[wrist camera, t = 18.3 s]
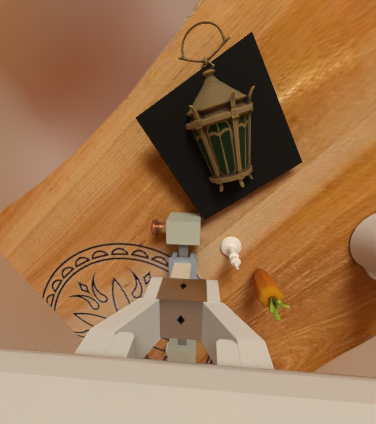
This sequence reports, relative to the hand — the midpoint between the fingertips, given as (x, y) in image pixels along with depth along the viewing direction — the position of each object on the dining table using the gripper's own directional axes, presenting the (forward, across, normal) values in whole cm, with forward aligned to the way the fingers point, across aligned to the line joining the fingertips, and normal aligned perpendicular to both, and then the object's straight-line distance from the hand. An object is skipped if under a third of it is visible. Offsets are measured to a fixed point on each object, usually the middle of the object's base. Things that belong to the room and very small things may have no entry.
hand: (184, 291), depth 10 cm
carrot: (+39, -15, +21) cm, 47 cm away
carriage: (+36, +3, +18) cm, 40 cm away
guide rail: (+39, +3, +26) cm, 47 cm away
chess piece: (+39, -8, +15) cm, 43 cm away
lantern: (+39, -3, -11) cm, 41 cm away
